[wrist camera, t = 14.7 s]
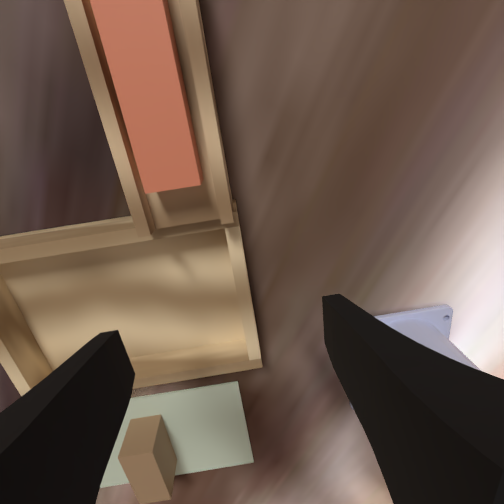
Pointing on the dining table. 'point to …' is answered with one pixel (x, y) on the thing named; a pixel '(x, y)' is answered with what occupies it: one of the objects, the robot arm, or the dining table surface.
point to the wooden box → (128, 299)
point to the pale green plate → (178, 439)
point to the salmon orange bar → (150, 90)
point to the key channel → (202, 115)
